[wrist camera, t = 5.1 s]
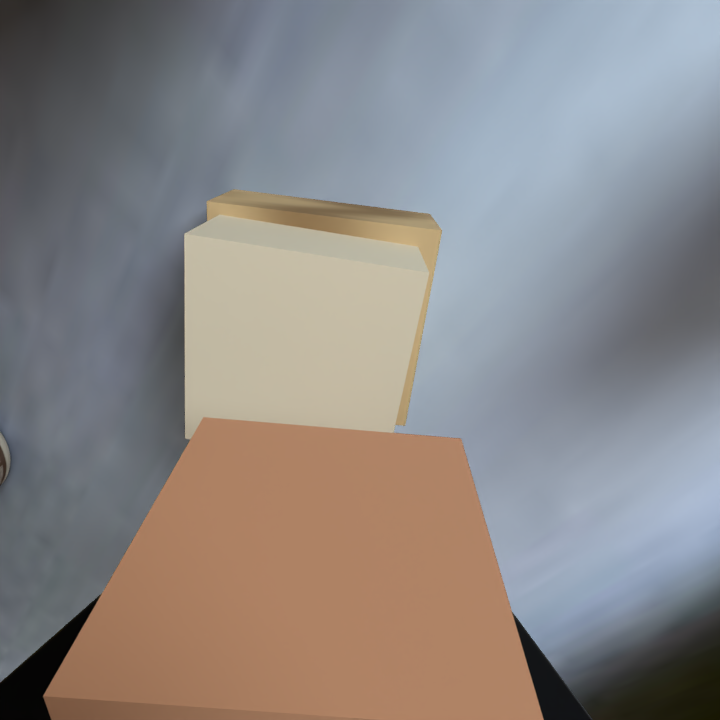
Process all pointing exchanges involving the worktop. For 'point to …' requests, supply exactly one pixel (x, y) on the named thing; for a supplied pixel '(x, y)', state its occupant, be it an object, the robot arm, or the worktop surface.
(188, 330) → the cream block
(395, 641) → the terracotta block
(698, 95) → the worktop surface
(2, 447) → the supplement bottle
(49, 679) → the robot arm
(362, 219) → the oak base block
